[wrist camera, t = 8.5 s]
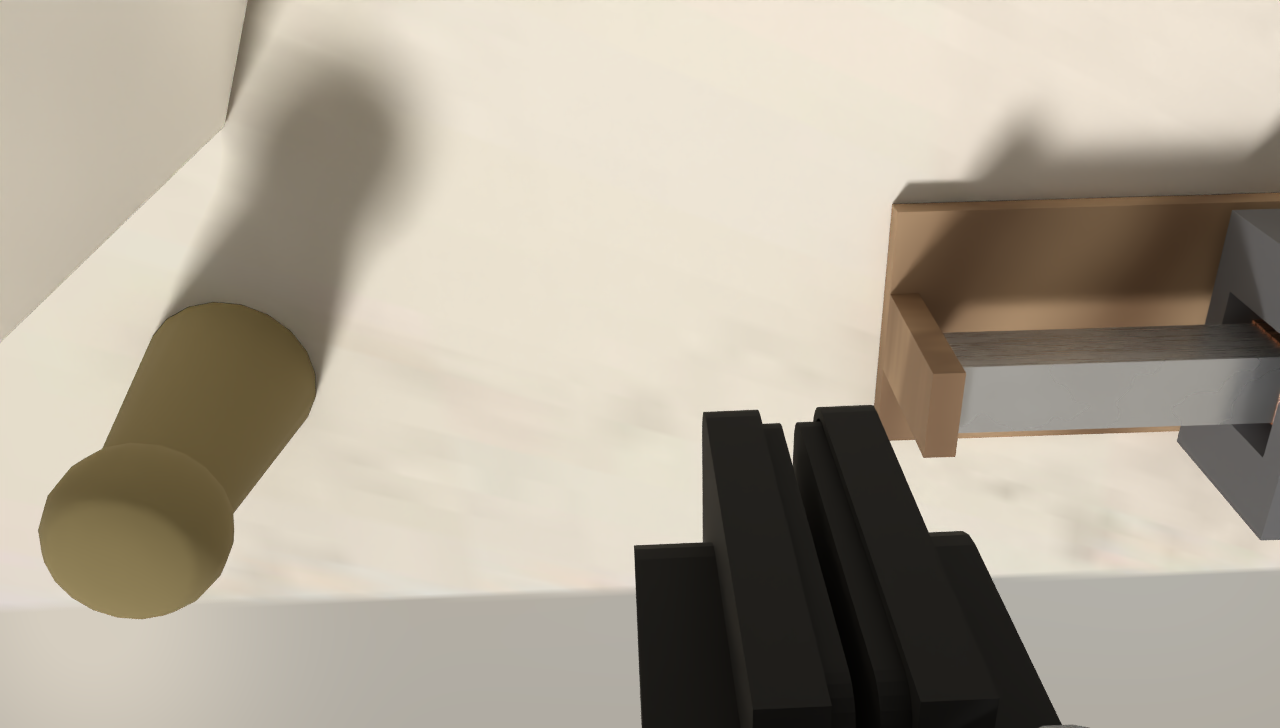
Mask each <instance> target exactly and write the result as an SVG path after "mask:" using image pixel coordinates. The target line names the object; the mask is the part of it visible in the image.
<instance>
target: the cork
mask: <svg viewBox="0 0 1280 728" xmlns="http://www.w3.org/2000/svg"><path fill="white" fill-rule="evenodd" d="M314 399H315V372H314V370H313V367H312V364H311V362H310V359H309V356H308V354H307V351H306V350H305V349H304V348H303V346H302V345H301V344H300V342H299V341H298V340H297V339H296V337H295V336H294V335H293V334H292V332H291V331H290V330H288V329H287V328H286V327H284V326H283V325H281V324H280V323H279V322H277V321H276V320H274V319H273V318H272V317H270V316H269V315H267V314H264V313H262V312H259V311H257V310H254V309H251V308H249V307H246V306H243V305H238V304H228V303H218V302H212V303H207V304H202V305H197V306H191V307H188V308H186V309H184V310H182V311H180V312H179V313H177V314H175V315H173V316H172V317H170V318H168V319H167V320H166V321H165V322H164V323H163V325H162V326H161V327H160V328H159V329H158V331H157V332H156V333H155V334H154V336H153V337H152V339H151V341H150V343H149V346H148V348H147V350H146V352H145V354H144V357H143V359H142V361H141V363H140V366H139V368H138V370H137V372H136V375H135V377H134V379H133V381H132V384H131V386H130V388H129V390H128V393H127V395H126V397H125V399H124V401H123V404H122V406H121V408H120V410H119V413H118V415H117V417H116V419H115V422H114V424H113V426H112V428H111V431H110V433H109V435H108V437H107V440H106V442H105V444H104V446H103V448H102V449H101V450H99V451H98V452H96V453H94V454H92V455H90V456H88V457H87V458H85V459H83V460H81V461H80V462H78V463H77V464H75V465H74V466H72V467H71V468H70V469H69V470H68V472H67V473H66V474H65V475H64V477H63V478H62V479H61V480H60V481H59V483H58V484H57V485H56V486H55V488H54V489H53V490H52V491H51V493H50V494H49V495H48V497H47V500H46V504H45V507H44V511H43V514H42V518H41V522H40V525H39V529H38V532H39V538H40V545H41V551H42V556H43V559H44V563H45V564H46V566H47V568H48V570H49V572H50V573H51V575H52V577H53V579H54V581H55V582H56V583H57V584H58V585H59V586H60V587H61V588H62V589H63V590H64V591H66V592H67V593H68V594H69V595H70V596H71V597H72V598H73V599H75V600H77V601H79V602H80V603H82V604H84V605H85V606H87V607H89V608H91V609H92V610H95V611H98V612H101V613H105V614H108V615H111V616H114V617H119V618H132V619H146V618H151V617H157V616H163V615H166V614H169V613H172V612H175V611H177V610H179V609H181V608H183V607H185V606H187V605H189V604H191V603H193V602H195V601H196V600H197V599H198V598H199V597H200V596H201V595H202V594H203V593H204V592H205V591H206V590H207V589H208V588H209V587H210V586H211V585H212V584H213V583H214V582H215V581H216V580H217V578H218V577H219V576H220V575H221V573H222V571H223V568H224V566H225V564H226V561H227V559H228V556H229V553H230V551H231V548H232V545H233V541H234V519H233V513H234V512H235V511H236V509H237V508H238V507H239V505H240V504H241V503H242V502H243V500H244V499H245V498H246V496H247V495H248V494H249V492H250V491H251V490H252V489H253V487H254V486H255V485H256V483H257V482H258V481H259V479H260V478H261V477H262V476H263V474H264V473H265V472H266V470H267V469H268V468H269V467H270V465H271V464H272V463H273V461H274V460H275V459H276V457H277V456H278V455H279V454H280V452H281V451H282V450H283V448H284V447H285V446H286V444H287V443H288V442H289V441H290V439H291V438H292V437H293V435H294V434H295V433H296V432H297V430H298V429H299V428H300V426H301V425H302V424H303V422H304V421H305V420H306V419H307V417H308V415H309V412H310V410H311V407H312V404H313V402H314Z"/></svg>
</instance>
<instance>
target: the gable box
mask: <svg viewBox="0 0 1280 728" xmlns="http://www.w3.org/2000/svg"><path fill="white" fill-rule="evenodd" d="M247 2H248V0H0V343H1V342H2V341H3V340H4V339H5V338H6V337H7V336H8V335H9V334H10V333H11V332H12V331H13V330H14V329H15V328H16V327H17V326H18V325H19V324H20V323H21V322H22V321H23V320H24V319H25V318H26V317H27V316H29V315H30V314H31V313H32V312H33V311H34V310H35V309H36V308H37V307H38V306H39V305H40V304H41V303H42V302H43V301H44V300H45V299H46V298H47V297H48V296H49V295H50V294H51V293H52V292H53V291H54V290H55V289H56V288H57V287H59V286H60V285H61V284H62V283H63V282H64V281H65V280H66V279H67V278H68V277H69V276H70V275H71V274H72V273H73V272H74V271H75V270H76V269H77V268H78V267H79V266H80V265H81V264H82V263H83V262H84V261H85V260H86V259H88V258H89V257H90V256H91V255H92V254H93V253H94V252H95V251H96V250H97V249H98V248H99V247H100V246H101V245H102V244H103V243H104V242H105V241H106V240H107V239H108V238H109V237H110V236H111V235H112V234H113V233H114V232H115V231H116V230H118V229H119V228H120V227H121V226H122V225H123V224H124V223H125V222H126V221H127V220H128V219H129V218H130V217H131V216H132V215H133V214H134V213H135V212H136V211H137V210H138V209H139V208H140V207H141V206H142V205H143V204H144V203H145V202H146V201H148V200H149V199H150V198H151V197H152V196H153V195H154V194H155V193H156V192H157V191H158V190H159V189H160V188H161V187H162V186H163V185H164V184H165V183H166V182H167V181H168V180H169V179H170V178H171V177H172V176H173V175H174V174H175V173H177V172H178V171H179V170H180V169H181V168H182V167H183V166H184V165H185V164H186V163H187V162H188V161H189V160H190V159H191V158H192V157H193V156H194V155H195V154H196V153H197V152H198V151H199V150H200V149H201V148H202V147H203V146H204V145H205V144H207V143H208V142H209V141H210V140H211V139H212V138H213V137H214V136H215V135H216V134H217V133H218V132H219V131H220V130H221V129H222V128H223V127H224V125H225V120H226V114H227V109H228V104H229V98H230V93H231V88H232V82H233V77H234V72H235V66H236V61H237V55H238V50H239V45H240V39H241V34H242V29H243V23H244V18H245V13H246V7H247Z"/></svg>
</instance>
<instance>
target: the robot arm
mask: <svg viewBox="0 0 1280 728" xmlns="http://www.w3.org/2000/svg"><path fill="white" fill-rule="evenodd" d="M702 465H703V543H681V544H659V545H636V546H634V555H635V579H636V603H637V626H638V650H639V651H638V652H639V675H640V698H641V719H642V728H1088V727H1082V726H1077V725H1062V724H1061V722H1060V720H1059V718H1058V716H1057V714H1056V712H1055V710H1054V708H1053V705H1052V703H1051V701H1050V700H1049V697H1048V695H1047V693H1046V691H1045V689H1044V687H1043V685H1042V682H1041V680H1040V678H1039V676H1038V674H1037V672H1036V670H1035V668H1034V666H1033V664H1032V662H1031V660H1030V658H1029V655H1028V653H1027V651H1026V649H1025V647H1024V645H1023V643H1022V641H1021V639H1020V637H1019V635H1018V633H1017V631H1016V628H1015V626H1014V624H1013V622H1012V620H1011V618H1010V616H1009V614H1008V612H1007V610H1006V608H1005V606H1004V603H1003V601H1002V599H1001V597H1000V595H999V593H998V591H997V589H996V587H995V585H994V583H993V581H992V578H991V576H990V574H989V572H988V570H987V568H986V566H985V564H984V562H983V560H982V558H981V556H980V553H979V551H978V549H977V547H976V545H975V543H974V542H973V540H972V539H971V537H970V536H969V534H967V533H965V532H963V531H954V532H931V533H929V532H928V530H927V528H926V525H925V523H924V521H923V518H922V516H921V514H920V511H919V509H918V507H917V504H916V502H915V500H914V497H913V495H912V492H911V490H910V488H909V485H908V483H907V481H906V478H905V476H904V474H903V471H902V469H901V467H900V464H899V462H898V460H897V457H896V455H895V453H894V450H893V448H892V446H891V443H890V441H889V439H888V436H887V434H886V432H885V429H884V427H883V425H882V422H881V420H880V418H879V415H878V413H877V411H876V409H875V407H874V406H873V405H859V406H835V407H817V408H816V410H815V414H814V420H813V422H797V423H796V425H795V431H794V450H793V465H792V462H791V458H790V454H789V451H788V447H787V443H786V440H785V436H784V433H783V429H782V426H781V424H780V423H774V424H762V420H761V416H760V413H759V411H758V410H741V411H717V412H703V421H702Z"/></svg>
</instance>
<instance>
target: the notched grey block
mask: <svg viewBox="0 0 1280 728" xmlns="http://www.w3.org/2000/svg"><path fill="white" fill-rule="evenodd" d="M1252 319H1263V320H1264V321H1265V322H1267V323H1268V324H1269V325H1270V326H1271V327H1272V328H1274V329H1275V330H1276V331H1277V332H1278V333H1280V209H1251V210H1232V213H1231V217H1230V221H1229V225H1228V229H1227V234H1226V238H1225V242H1224V246H1223V250H1222V255H1221V259H1220V263H1219V267H1218V271H1217V275H1216V280H1215V284H1214V288H1213V292H1212V296H1211V301H1210V305H1209V309H1208V313H1207V317H1206V321H1205V325H1208V324H1240V323H1251V321H1252ZM1177 442H1178V443H1179V444H1180V446H1181V447H1182V448H1183V449H1184V450H1185V452H1186V453H1187V454H1188V455H1189V456H1190V457H1191V459H1192V460H1193V461H1194V462H1195V463H1196V465H1197V466H1198V467H1199V468H1200V469H1201V471H1202V472H1203V473H1204V474H1205V475H1206V476H1207V478H1208V479H1209V480H1210V481H1211V482H1212V484H1213V485H1214V486H1215V487H1216V488H1217V489H1218V491H1219V492H1220V493H1221V494H1222V495H1223V497H1224V498H1225V499H1226V500H1227V501H1228V502H1229V504H1230V505H1231V506H1232V507H1233V508H1234V510H1235V511H1236V512H1237V513H1238V514H1239V516H1240V517H1241V518H1242V519H1243V520H1244V521H1245V523H1246V524H1247V525H1248V526H1249V527H1250V529H1251V530H1252V531H1253V532H1254V533H1255V534H1256V536H1257V537H1258V538H1259V539H1260V540H1280V400H1279V403H1278V407H1277V410H1276V414H1275V418H1274V421H1273V425H1271V424H1270V423H1253V424H1223V425H1193V426H1180V430H1179V434H1178V438H1177Z"/></svg>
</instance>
